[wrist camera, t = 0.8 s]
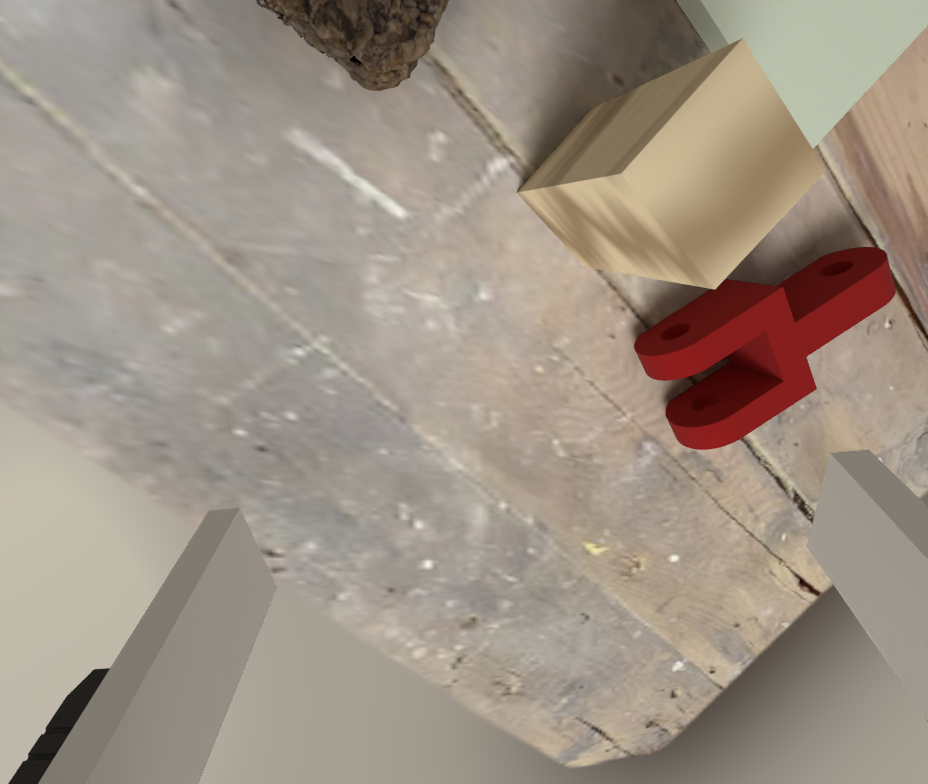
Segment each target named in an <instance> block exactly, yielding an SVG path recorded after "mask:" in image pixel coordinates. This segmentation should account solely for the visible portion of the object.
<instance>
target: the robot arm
mask: <svg viewBox="0 0 928 784" xmlns="http://www.w3.org/2000/svg"><path fill="white" fill-rule="evenodd" d="M807 547H808V548H809V550H810V551H811V553H812V554H813V555H814V557H815V558H816V560H817V561H818V563H819V564H820V566H821V567H822V569H823V570H824V571H825V573H826V574H827V576H828V577H829V579H830V580H831V582H832V583H833V584H834V586H835V587H836V588H837V590H838V592H839V593H840V595H841V596H842V598H843V599H844V600H845V602H846V603H847V605H848V606H849V607H850V609H851V611H852V612H853V613H854V615H855V616H856V618H857V619H858V621H859V622H860V623H861V625H862V626H863V628H864V629H865V631H866V632H867V634H868V635H869V637H870V638H871V640H872V641H873V642H874V644H875V645H876V647H877V648H878V650H879V651H880V653H881V654H882V655H883V657H884V658H885V660H886V661H887V663H888V664H889V666H890V667H891V668H892V670H893V671H894V673H895V674H896V676H897V677H898V679H899V680H900V682H901V683H902V684H903V686H904V687H905V689H906V690H907V692H908V693H909V695H910V696H911V698H912V699H913V700H914V702H915V703H916V705H917V706H918V708H919V709H920V711H921V712H922V713H923V715H924V716H925V718H926V719H927V721H928V507H927V506H926V505H925V504H924V503H923V502H922V501H921V500H920V499H919V498H918V497H917V496H916V495H915V494H914V493H913V492H912V491H911V490H910V489H909V488H908V487H907V486H906V485H905V484H903V483H902V482H901V481H900V480H899V479H898V478H897V477H896V476H895V475H894V474H893V473H892V472H891V471H890V470H889V469H888V468H887V467H886V466H885V465H884V464H883V463H882V462H881V461H880V460H879V459H878V458H877V457H876V456H875V455H874V454H873V453H872V452H870V451H869V450H859V451H848V452H838V453H830V455H829V459H828V463H827V467H826V471H825V476H824V480H823V484H822V488H821V492H820V496H819V500H818V504H817V508H816V512H815V516H814V520H813V524H812V528H811V532H810V536H809V540H808V545H807ZM276 588H277V586H276V584H275V582H274V580H273V578H272V575H271V573H270V571H269V569H268V567H267V565H266V563H265V561H264V558H263V556H262V554H261V552H260V550H259V548H258V546H257V544H256V541H255V539H254V537H253V535H252V533H251V531H250V529H249V527H248V524H247V522H246V520H245V518H244V516H243V514H242V512H241V509H240V508H233V509H222V510H211V511H208V513H207V515H206V516H205V518H204V519H203V521H202V523H201V524H200V526H199V527H198V529H197V531H196V532H195V534H194V535H193V537H192V539H191V540H190V542H189V543H188V545H187V547H186V548H185V550H184V552H183V553H182V555H181V556H180V558H179V559H178V561H177V563H176V564H175V566H174V567H173V569H172V571H171V572H170V574H169V575H168V577H167V579H166V580H165V582H164V584H163V585H162V587H161V588H160V590H159V591H158V593H157V595H156V596H155V598H154V599H153V601H152V602H151V604H150V606H149V607H148V609H147V610H146V612H145V614H144V615H143V617H142V619H141V620H140V622H139V624H138V625H137V626H136V628H135V630H134V631H133V633H132V635H131V636H130V638H129V639H128V641H127V643H126V644H125V646H124V647H123V649H122V650H121V652H120V654H119V655H118V657H117V659H116V660H115V662H114V663H113V665H112V666H111V668H108V669H95V670H93V671H92V672H91V673H90V674H89V675H88V676H87V677H86V678H85V679H84V680H83V681H82V682H81V683H80V684H79V685H78V686H77V687H76V688H75V689H74V690H73V691H72V692H71V693H70V694H69V695H68V696H67V697H66V698H65V700H64V701H63V703H62V704H61V706H60V707H59V709H58V710H57V712H56V713H55V715H54V716H53V718H52V719H51V721H50V722H49V724H48V725H47V727H46V732H45V733H44V734H43V735H41V736H40V737H39V739H38V740H37V742H36V743H35V745H34V747H33V748H32V749H31V751H30V752H29V754H28V755H29V756H28V759H27V760H26V761H23V763H22V764H21V766H20V767H19V769H18V770H17V772H16V773H15V775H14V776H13V778H12V779H11V781H10V782H9V784H198V783H199V781H200V778H201V776H202V773H203V770H204V768H205V766H206V763H207V760H208V758H209V756H210V753H211V751H212V748H213V746H214V743H215V741H216V738H217V736H218V733H219V731H220V728H221V726H222V723H223V720H224V718H225V716H226V713H227V711H228V708H229V705H230V703H231V700H232V698H233V695H234V693H235V690H236V688H237V685H238V683H239V681H240V678H241V676H242V673H243V670H244V668H245V665H246V663H247V660H248V658H249V655H250V653H251V650H252V648H253V645H254V643H255V640H256V638H257V636H258V633H259V631H260V628H261V626H262V623H263V621H264V618H265V615H266V613H267V611H268V608H269V605H270V603H271V601H272V598H273V596H274V593H275V591H276Z"/></svg>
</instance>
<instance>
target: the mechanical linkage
mask: <svg viewBox="0 0 928 784" xmlns="http://www.w3.org/2000/svg"><path fill="white" fill-rule="evenodd" d="M894 295H895V286H894V282H893V278H892V274H891V270H890V266H889V262H888V258H887V254H886V252H885V251H884V250H882V249H879V248H874V247H859V248H851V249H846V250H842V251H838V252H834V253H831V254H828V255H825V256H823V257H821V258H819V259H818V260H816V261H814V262H813V263H811V264H810V265H808V266H807V267H805V268H804V269H802V270H801V271H799V272H797V273H796V274H794V275H793V276H791V277H790V278H788V279H787V280H785V281H783V282H782V283H780V284H779V285H777V286H772V285H765V284H758V283H750V282H743V281H736V280H728V279H726V280H724V281H723V282H722V283H721V284H720V285H719V286H718V287H717V288H716V289H710V290H709V291H707V292H706V293H704V294H703V295H701V296H699V297H698V298H696V299H695V300H693V301H692V302H690V303H689V304H687V305H685V306H684V307H682V308H681V309H679V310H678V311H676V312H675V313H673V314H671V315H670V316H668V317H667V318H665V319H664V320H662V321H660V322H659V323H657V324H656V325H654V326H653V327H651V328H650V329H648V330H646V331H645V332H643V333H642V334H640V335H639V337H638V338H637V339H636V341H635V344H634V348H635V351H636V353H637V355H638V357H639V359H640V361H641V363H642V366H643V368H644V370H645V372H646V374H647V375H648V376H649V377H650V378H653V379H656V380H663V381H667V380H677V379H682V378H686V377H689V376H692V375H695V374H697V373H699V372H702V371H704V370H706V369H707V368H709V367H711V366H712V365H714V364H716V363H717V362H719V361H720V360H722V359H723V358H725V357H726V356H728V359H729V361H730V363H728V364H726V365H725V366H723V367H722V368H720V369H719V370H717V371H716V372H714V373H713V374H711V375H709V376H708V377H706V378H705V379H703V380H702V381H700V382H699V383H697V384H695V385H694V386H692V387H691V388H689V389H688V390H686V391H685V392H683V393H682V394H680V395H678V396H677V397H675V398H674V399H672V400H671V401H670V402H669V404H668V406H667V408H666V417H667V419H668V421H669V423H670V425H671V428H672V430H673V432H674V434H675V436H676V438H677V440H678V441H679V442H680V443H681V444H682V445H684V446H686V447H688V448H692V449H700V450H705V449H714V448H719V447H723V446H726V445H729V444H731V443H733V442H735V441H737V440H739V439H741V438H742V437H744V436H745V435H747V434H748V433H750V432H752V431H753V430H755V429H756V428H758V427H759V426H761V425H762V424H764V423H765V422H767V421H768V420H770V419H771V418H773V417H774V416H776V415H778V414H779V413H781V412H782V411H784V410H785V409H787V408H788V407H790V406H791V405H793V404H794V403H796V402H797V401H799V400H801V399H802V398H804V397H805V396H807V395H808V394H810V393H811V392H813V391H814V390H816V389H817V388H816V385H815V382H814V379H813V376H812V373H811V370H810V367H809V364H808V361H807V358H806V356H808V355H810V354H811V353H813V352H814V351H816V350H817V349H819V348H820V347H822V346H823V345H825V344H826V343H828V342H830V341H831V340H833V339H834V338H836V337H837V336H839V335H840V334H842V333H843V332H845V331H846V330H848V329H850V328H851V327H853V326H854V325H856V324H857V323H859V322H860V321H862V320H863V319H865V318H866V317H868V316H870V315H871V314H873V313H874V312H876V311H877V310H879V309H880V308H882V307H883V306H885V305H886V304H887V303H889V302H890V301H891V300H892V298H893V297H894Z"/></svg>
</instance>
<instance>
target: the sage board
mask: <svg viewBox="0 0 928 784" xmlns="http://www.w3.org/2000/svg"><path fill="white" fill-rule="evenodd" d="M676 1H677V3H678V4H679V6H680V7H681V9H682V10H683V12H684V13H685V15H686V16H687V18H688V19H689V21H690V22H691V24H692V25H693V27H694V28H695V30H696V31H697V33H698V34H699V36H700V37H701V39H702V40H703V42H704V43H705V45H706V46H707V48H708V49H709V51H710V52H711V53H712V52H714V51H716V50H718V49H721V48H723V47H725V46H727V45H729V44H731V43H733V42H736V41H738V40H740V39H742V38H743V39H744V41H745V43H746V44H747V46H748V47H749V49H750V50H751V52H752V54H753V55H754V57H755V58H756V60H757V61H758V63H759V65H760V66H761V68H762V69H763V71H764V73H765V74H766V76H767V77H768V79H769V80H770V82H771V84H772V85H773V87H774V88H775V90H776V92H777V93H778V95H779V96H780V98H781V99H782V101H783V103H784V104H785V106H786V107H787V109H788V110H789V112H790V114H791V115H792V117H793V118H794V120H795V122H796V123H797V125H798V126H799V128H800V129H801V131H802V133H803V134H804V136H805V137H806V139H807V141H808V142H809V144H810V145H811V147H812V148H814V147H815V146H816V145H817V144H818V143H819V142H820V141H821V140H822V138H823V137H824V136H825V135H826V134H827V133H828V132H829V131H830V130H831V129H832V128H833V127H834V126H835V124H836V123H837V122H838V121H839V120H840V119H841V118H842V117H843V116H844V115H845V114H846V113H847V112H848V110H849V109H850V108H851V107H852V106H853V105H854V104H855V103H856V102H857V101H858V100H859V99H860V98H861V96H862V95H863V94H864V93H865V92H866V91H867V90H868V89H869V88H870V87H871V86H872V85H873V84H874V83H875V81H876V80H877V79H878V78H879V77H880V76H881V75H882V74H883V73H884V72H885V71H886V70H887V69H888V67H889V66H890V65H891V64H892V63H893V62H894V61H895V60H896V59H897V58H898V57H899V56H900V55H901V53H902V52H903V51H904V50H905V49H906V48H907V47H908V46H909V45H910V44H911V43H912V42H913V41H914V39H915V38H916V37H917V36H918V35H919V34H920V33H921V32H922V31H923V30H924V29H925V28H926V27H927V25H928V0H676Z"/></svg>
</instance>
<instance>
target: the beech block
mask: <svg viewBox="0 0 928 784" xmlns="http://www.w3.org/2000/svg"><path fill="white" fill-rule="evenodd" d="M825 172H826V169H825V167H824V166H823V164H822V163H821V161H820V160H819V158H818V156H817V155H816V153H815V152H814V150H813V148H812V147H811V145H810V144H809V142H808V141H807V139H806V137H805V136H804V134H803V133H802V131H801V129H800V128H799V126H798V125H797V123H796V122H795V120H794V118H793V117H792V115H791V114H790V112H789V110H788V109H787V107H786V106H785V104H784V103H783V101H782V99H781V98H780V96H779V95H778V93H777V92H776V90H775V88H774V87H773V85H772V84H771V82H770V80H769V79H768V77H767V76H766V74H765V73H764V71H763V69H762V68H761V66H760V65H759V63H758V61H757V60H756V58H755V57H754V55H753V54H752V52H751V50H750V49H749V47H748V46H747V44H746V43H745V41H744V39H743V38H742V39H740V40H738V41H736V42H733V43H731V44H729V45H727V46H725V47H723V48H721V49H718V50H716V51H714V52H712V53H710V54H708V55H705V56H703V57H701V58H699V59H697V60H695V61H693V62H690V63H688V64H686V65H684V66H682V67H680V68H677V69H675V70H673V71H671V72H669V73H667V74H665V75H662V76H660V77H658V78H656V79H654V80H652V81H649V82H647V83H645V84H643V85H641V86H639V87H637V88H634V89H632V90H630V91H628V92H626V93H624V94H621V95H619V96H617V97H615V98H613V99H611V100H609V101H606V102H604V103H602V104H600V105H598V106H596V107H593V108H591V109H590V110H589V111H588V112H587V114H586V115H585V116H584V117H583V118H582V119H581V120H580V122H579V123H578V124H577V125H576V126H575V127H574V128H573V130H572V131H571V132H570V133H569V134H568V135H567V136H566V137H565V139H564V140H563V141H562V142H561V143H560V144H559V145H558V147H557V148H556V149H555V150H554V151H553V152H552V153H551V154H550V156H549V157H548V158H547V159H546V160H545V161H544V162H543V164H542V165H541V166H540V167H539V168H538V169H537V170H536V171H535V173H534V174H533V175H532V176H531V177H530V178H529V179H528V181H527V182H526V183H525V184H524V185H523V186H522V187H521V189H520V190H519V191H518V192H517V193H518V194H519V196H520V197H521V198H522V199H523V200H524V201H525V202H526V203H527V204H528V205H529V206H530V208H531V209H532V210H533V211H534V212H535V213H536V214H537V215H538V216H539V217H540V218H541V219H542V221H543V222H544V223H545V224H546V225H547V226H548V227H549V228H550V229H551V230H552V231H553V233H554V234H555V235H556V236H557V237H558V238H559V239H560V240H561V241H562V242H563V243H564V245H565V246H566V247H567V248H568V249H569V250H570V251H571V252H572V253H573V254H574V255H575V257H576V258H577V259H578V260H579V261H580V262H581V263H582V264H583V265H584V266H585V267H589V268H595V269H600V270H606V271H612V272H618V273H623V274H629V275H635V276H641V277H646V278H652V279H658V280H664V281H669V282H675V283H681V284H686V285H692V286H698V287H704V288H709V289H716V288H717V287H718V286H719V285H720V284H721V283H722V282H723V281H724V279H725V278H726V277H727V276H728V275H729V274H730V273H731V272H732V271H733V270H734V269H735V268H736V267H737V266H738V264H739V263H740V262H741V261H742V260H743V259H744V258H745V257H746V256H747V255H748V254H749V253H750V252H751V251H752V250H753V248H754V247H755V246H756V245H757V244H758V243H759V242H760V241H761V240H762V239H763V238H764V237H765V236H766V235H767V234H768V232H769V231H770V230H771V229H772V228H773V227H774V226H775V225H776V224H777V223H778V222H779V221H780V220H781V219H782V217H783V216H784V215H785V214H786V213H787V212H788V211H789V210H790V209H791V208H792V207H793V206H794V205H795V204H796V203H797V201H798V200H799V199H800V198H801V197H802V196H803V195H804V194H805V193H806V192H807V191H808V190H809V189H810V188H811V186H812V185H813V184H814V183H815V182H816V181H817V180H818V179H819V178H820V177H821V176H822V175H823V174H824V173H825Z"/></svg>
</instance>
